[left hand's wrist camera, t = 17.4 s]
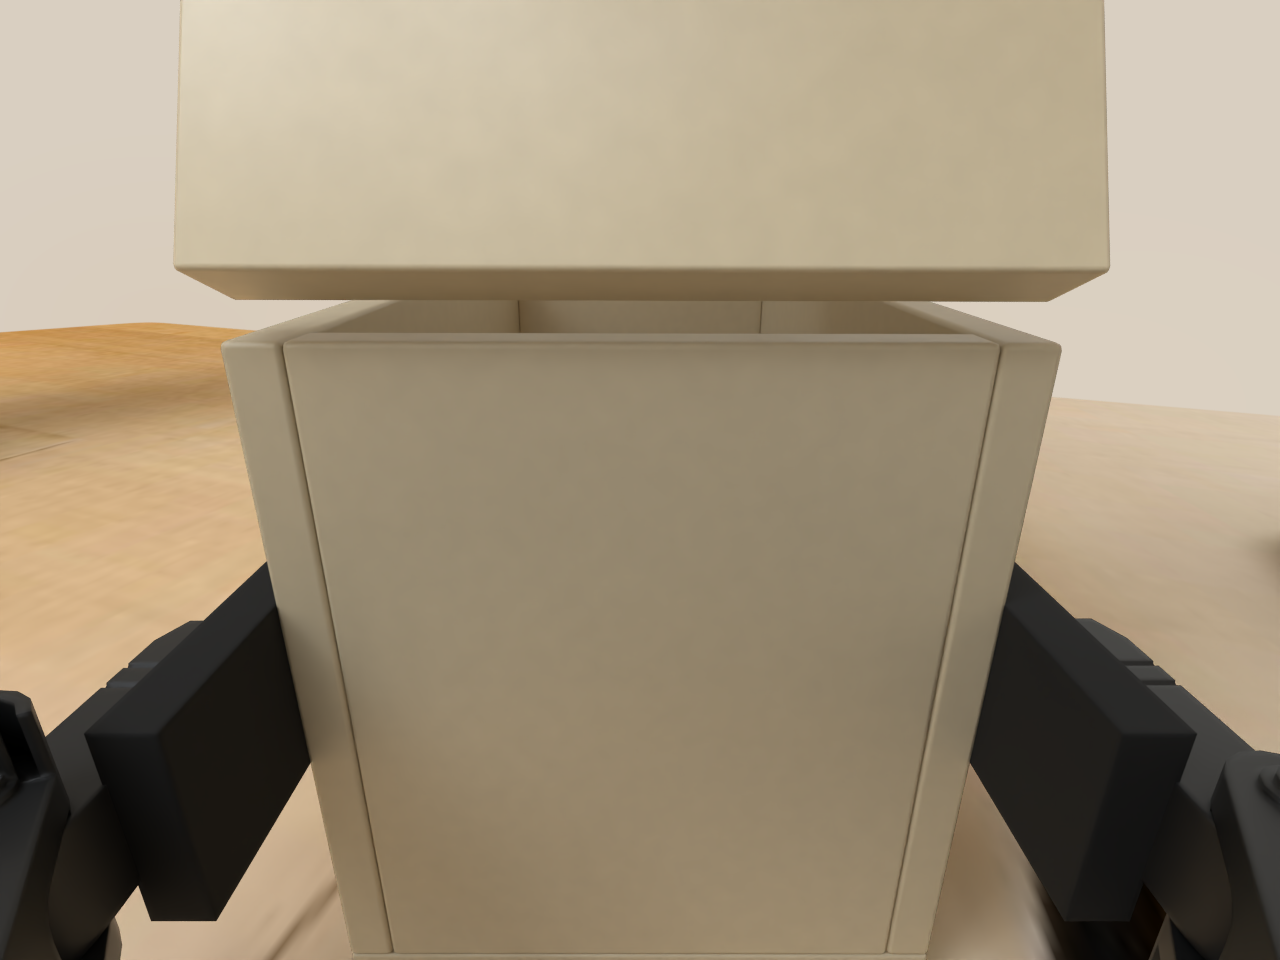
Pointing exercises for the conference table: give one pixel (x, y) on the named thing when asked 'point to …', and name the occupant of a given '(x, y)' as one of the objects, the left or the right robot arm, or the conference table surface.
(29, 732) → the left robot arm
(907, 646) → the chest
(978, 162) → the lid
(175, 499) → the conference table surface
